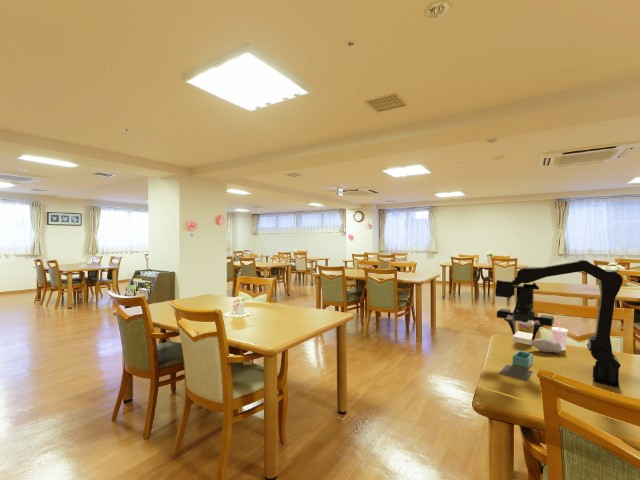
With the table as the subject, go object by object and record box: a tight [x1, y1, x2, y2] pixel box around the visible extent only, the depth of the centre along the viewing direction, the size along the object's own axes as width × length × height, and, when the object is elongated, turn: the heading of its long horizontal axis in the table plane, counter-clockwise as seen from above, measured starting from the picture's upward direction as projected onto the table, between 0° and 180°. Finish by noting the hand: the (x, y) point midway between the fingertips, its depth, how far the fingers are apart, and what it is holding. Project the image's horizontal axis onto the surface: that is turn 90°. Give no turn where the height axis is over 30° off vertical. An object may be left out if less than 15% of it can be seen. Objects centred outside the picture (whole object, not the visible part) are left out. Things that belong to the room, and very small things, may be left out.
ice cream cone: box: [530, 337, 562, 354], centre depth 144 cm, size 6×6×15 cm
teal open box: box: [512, 349, 534, 370], centre depth 130 cm, size 5×8×4 cm, turn 137°
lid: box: [511, 330, 536, 346], centre depth 130 cm, size 6×9×2 cm, turn 137°
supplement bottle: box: [517, 320, 536, 334], centre depth 157 cm, size 7×7×13 cm
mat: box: [498, 364, 534, 382], centre depth 122 cm, size 9×11×1 cm
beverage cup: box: [551, 317, 569, 351], centre depth 148 cm, size 6×6×14 cm
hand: (523, 338), depth 130 cm, fingers closed on lid, 6 cm apart
